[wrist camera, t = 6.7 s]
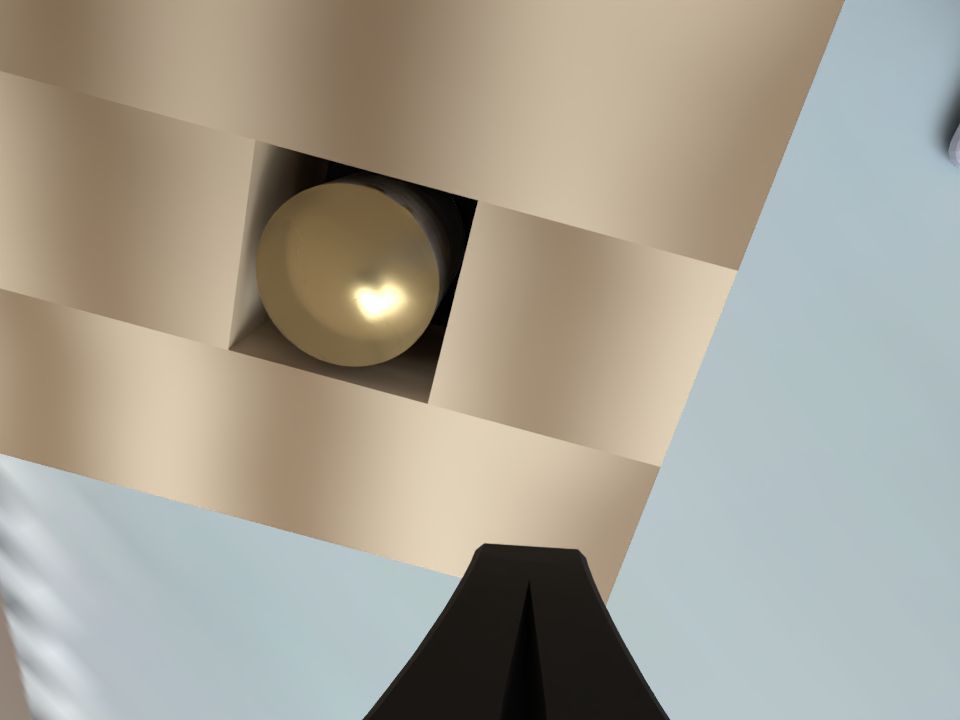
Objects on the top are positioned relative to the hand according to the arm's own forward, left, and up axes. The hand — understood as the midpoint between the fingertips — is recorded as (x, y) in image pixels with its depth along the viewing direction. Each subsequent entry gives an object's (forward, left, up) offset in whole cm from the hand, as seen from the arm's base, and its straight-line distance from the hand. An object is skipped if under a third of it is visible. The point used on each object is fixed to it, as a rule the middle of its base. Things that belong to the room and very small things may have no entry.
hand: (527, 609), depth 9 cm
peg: (+4, -2, -10) cm, 11 cm away
